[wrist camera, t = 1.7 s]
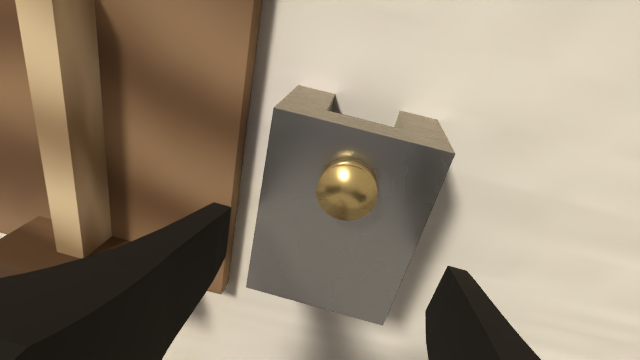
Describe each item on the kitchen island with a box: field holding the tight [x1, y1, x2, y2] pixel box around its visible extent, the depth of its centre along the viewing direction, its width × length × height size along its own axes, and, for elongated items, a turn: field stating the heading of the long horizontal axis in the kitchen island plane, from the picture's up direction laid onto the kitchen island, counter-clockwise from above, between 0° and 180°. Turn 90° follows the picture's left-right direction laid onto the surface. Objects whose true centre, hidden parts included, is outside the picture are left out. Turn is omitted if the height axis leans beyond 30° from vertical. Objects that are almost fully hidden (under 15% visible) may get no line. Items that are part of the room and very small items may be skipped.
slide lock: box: [246, 85, 455, 325], centre depth 15 cm, size 8×6×5 cm
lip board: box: [0, 0, 262, 294], centre depth 14 cm, size 22×14×4 cm, turn 168°
